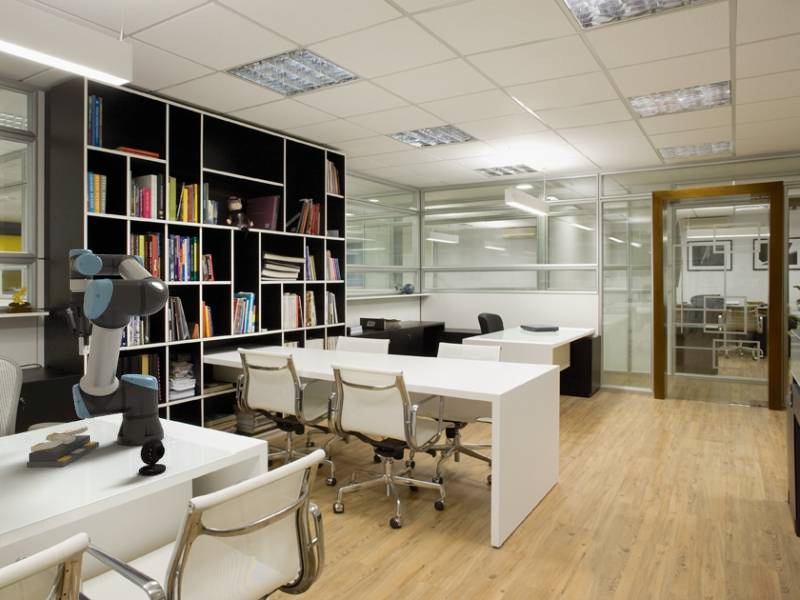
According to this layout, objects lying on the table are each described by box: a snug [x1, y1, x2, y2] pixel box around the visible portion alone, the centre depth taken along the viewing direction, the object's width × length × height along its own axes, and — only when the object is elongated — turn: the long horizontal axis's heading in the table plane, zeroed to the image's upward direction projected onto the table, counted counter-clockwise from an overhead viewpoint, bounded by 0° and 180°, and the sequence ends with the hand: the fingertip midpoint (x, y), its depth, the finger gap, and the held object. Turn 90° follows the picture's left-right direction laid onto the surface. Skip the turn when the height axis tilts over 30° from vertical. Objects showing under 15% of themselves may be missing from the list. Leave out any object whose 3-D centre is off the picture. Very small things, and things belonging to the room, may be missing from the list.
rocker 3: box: [60, 426, 89, 436], centre depth 187 cm, size 7×4×1 cm, turn 91°
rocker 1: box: [30, 439, 62, 453], centre depth 172 cm, size 7×4×1 cm, turn 91°
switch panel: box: [26, 434, 100, 468], centre depth 180 cm, size 11×21×4 cm, turn 2°
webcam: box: [138, 438, 167, 477], centre depth 165 cm, size 8×8×10 cm
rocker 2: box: [45, 431, 76, 444], centre depth 180 cm, size 7×4×1 cm, turn 92°
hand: (83, 354), depth 206 cm, fingers closed
